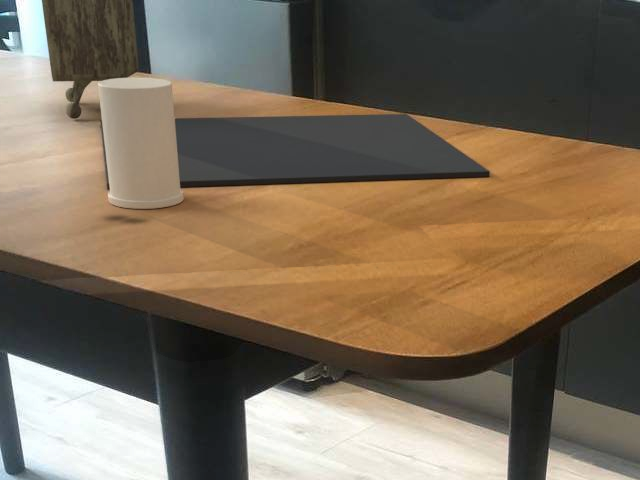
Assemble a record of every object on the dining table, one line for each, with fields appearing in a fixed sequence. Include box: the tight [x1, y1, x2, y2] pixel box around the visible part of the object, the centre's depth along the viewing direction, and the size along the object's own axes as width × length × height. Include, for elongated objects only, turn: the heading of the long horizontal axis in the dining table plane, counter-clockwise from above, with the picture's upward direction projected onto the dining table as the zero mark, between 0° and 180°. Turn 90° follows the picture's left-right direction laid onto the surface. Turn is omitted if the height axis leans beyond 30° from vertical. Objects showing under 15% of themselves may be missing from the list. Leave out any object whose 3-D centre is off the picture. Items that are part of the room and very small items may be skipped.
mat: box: [99, 113, 491, 191], centre depth 108 cm, size 34×30×1 cm
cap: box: [97, 77, 185, 210], centre depth 87 cm, size 6×6×9 cm
